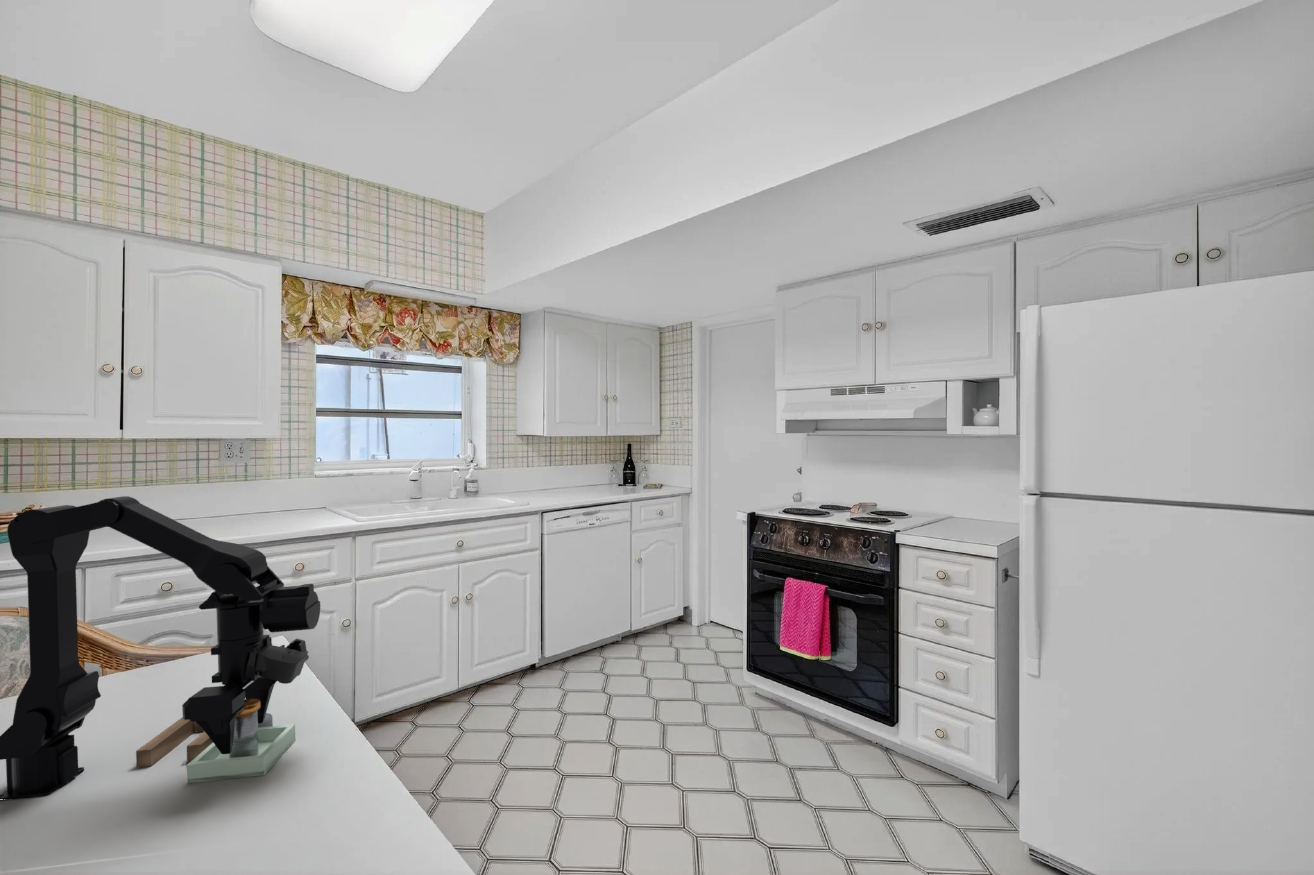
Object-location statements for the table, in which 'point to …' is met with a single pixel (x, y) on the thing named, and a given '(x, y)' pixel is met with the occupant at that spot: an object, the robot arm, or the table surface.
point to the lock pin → (246, 730)
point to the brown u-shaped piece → (173, 743)
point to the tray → (222, 767)
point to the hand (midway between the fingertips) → (243, 737)
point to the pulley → (266, 721)
